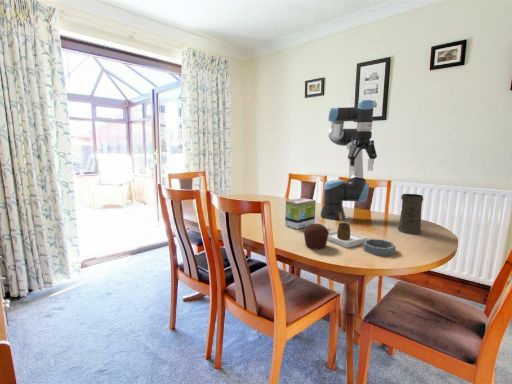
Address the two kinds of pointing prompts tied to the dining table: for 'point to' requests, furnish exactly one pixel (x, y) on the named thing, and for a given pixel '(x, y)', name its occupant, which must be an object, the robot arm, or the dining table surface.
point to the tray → (353, 240)
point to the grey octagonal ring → (370, 243)
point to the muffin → (316, 236)
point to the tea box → (300, 213)
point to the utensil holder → (343, 229)
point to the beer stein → (411, 214)
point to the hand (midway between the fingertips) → (361, 171)
